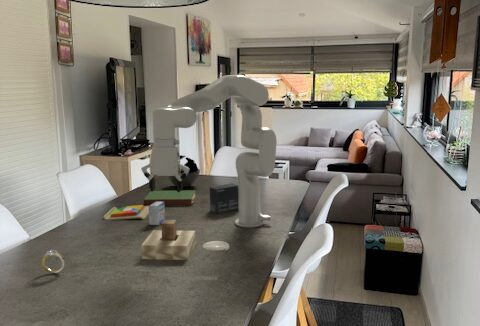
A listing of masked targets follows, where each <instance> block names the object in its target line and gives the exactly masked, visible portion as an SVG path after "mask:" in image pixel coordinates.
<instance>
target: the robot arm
mask: <svg viewBox="0 0 480 326" xmlns="http://www.w3.org/2000/svg"><path fill="white" fill-rule="evenodd" d="M269 97H270V94H269V90H268V88H267V87H266V86H265V85H264V84H263V83H261V82H259V81H256V80H254V79H252V78H251V77H247V75H246V76H245V75H242V74H232V75H231V74H228V75H227V74H225V75H223V76H221V77H218V78H217V79H216V80H214V81H212V82H211V83H209V84H207V85H206V86H205V87H204V88H203V87H202V88H201V89H199V90H197V91H194V92H191V93H189V94H187V95H184V96H181V97H179V98H177V99H176V100H174V101H172V102H170V103H169V104H168V105H166V106H165V107H158V108H154V109H153V110H152V134H153V146H152V147H151V151H150V163H148V164H146V165H144V166H142V167H141V169H140V170H141V172H142V173H143V176H144V177H146V179H147V180H148V183H149V186H148V187H149V189H150V192H153V191H156V180H155V179H154V178H155V176H157V177H158V176H159V177H160V176H162V177H164V176H165V177H167V176H175V177H176V178H177V179H178V181H177V186H176V191H177V192H180V191H182V190H183V189H184V187H183V186H182V180H183V179H184V178H185V177H186V176H187V174H188V172H189V170H190V169H189V168H188V167H186V166H184V164H183V163H181V160H180V152H179V151H180V149H179V147H178V146H177V145H179V144H180V140H178V139H176V128H180V129H181V128H182V129H188V128H191V127H193V126H194V125H195V124H196V123H197V120H198V119H197V118H198V117H197V114H198V113H204V112H208V111H212V110H214V109H216V108H217V107H218V106H220V105H221V104H222V103H224V102H225V101H226V100H228V99H232V100H233V102H234V103H235V104H236V106H237V107H238V109H239V110H240V113H241V128H240V129H241V132H240V144H241V146H242V147H243V148H245V149H250V150H256V151H258V152H253V151H243V152H241V153H239V154H238V155H237V156H236V158H235V169H236V173H237V185H238V206H239V209H238V218H236V219H235V220H234V224H235V225H236V226H237V227H241V228H246V229H247V228H248V229H252V228H253V229H254V228H258V227H261V226H263V225H264V224H265V221H271V220H272V219H271V218H272V216H270V215H268V214H262V211H261V181H260V179H259V177H262V178H268V177H270V176H272V174H273V173H274V170H275V166H276V158H277V157H276V156H277V155H276V154H277V142H278V141H277V135H276V132H275V131H274V130H273V129H272V128H269V127H263V115H262V114H263V113H262V109H261V108H260V106H263V105H265V104H267V102H268V100H269ZM148 169H149V170H150V171H149V172H148ZM181 169H183V170H184V174H183V175H181V174H180V172H181Z"/></svg>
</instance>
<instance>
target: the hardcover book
mask: <svg viewBox="0 0 480 326" xmlns="http://www.w3.org/2000/svg"><path fill="white" fill-rule="evenodd" d="M195 198H196V190H191V189H190V190H189V189H188V190H181V191H180V192H177V190H154V191H153V192H151V191H149V192H148V194H147V195H146V196H145V197H144V199H143V206H150V205H151V204H153V203H154V202H164V207H165V206H169V207H171V206H172V207H173V206H175V207H177V206H178V207H180V206H183V207H184V206H190V207H191V206H192V205H193V203H194V201H195Z"/></svg>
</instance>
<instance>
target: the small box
mask: <svg viewBox="0 0 480 326" xmlns="http://www.w3.org/2000/svg"><path fill="white" fill-rule="evenodd" d="M209 202H210V203H209V206H210V208H209V209H210V212H212V213H215V214H221V213H227V212H232V211H237V210H238V211H239V206H238V184H235V183H231V182H230V183H227V184H220V185H214V186H209Z"/></svg>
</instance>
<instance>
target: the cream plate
mask: <svg viewBox="0 0 480 326" xmlns="http://www.w3.org/2000/svg"><path fill="white" fill-rule="evenodd" d="M202 248H203V250H206V251H211V252H212V251H213V252H216V251H217V252H219V251H223V250H224V252H228V250H230V244H229V243H228V242H226V241H222V240H212V241H207V242H205V243H203V244H202Z"/></svg>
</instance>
